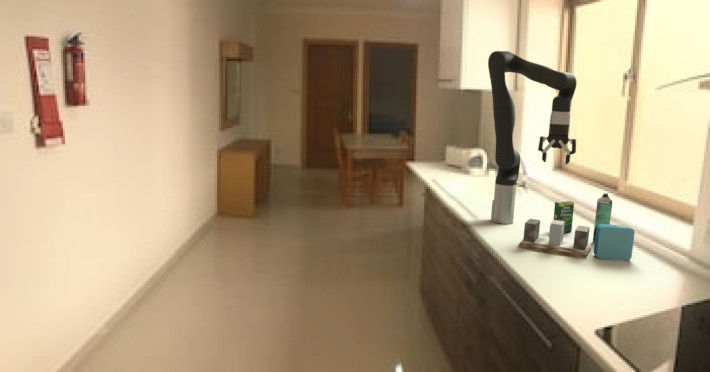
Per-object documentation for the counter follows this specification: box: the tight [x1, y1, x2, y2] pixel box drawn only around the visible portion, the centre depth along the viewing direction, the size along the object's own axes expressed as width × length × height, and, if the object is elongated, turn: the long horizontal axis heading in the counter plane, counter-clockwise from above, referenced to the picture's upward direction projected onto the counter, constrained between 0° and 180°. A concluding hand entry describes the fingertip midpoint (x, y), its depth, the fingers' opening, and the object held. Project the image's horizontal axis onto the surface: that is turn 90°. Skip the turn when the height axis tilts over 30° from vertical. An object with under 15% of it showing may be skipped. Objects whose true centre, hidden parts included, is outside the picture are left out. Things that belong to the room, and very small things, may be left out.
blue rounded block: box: [593, 224, 636, 262], centre depth 210 cm, size 12×4×12 cm, turn 83°
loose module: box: [548, 219, 565, 246], centre depth 219 cm, size 4×7×8 cm, turn 152°
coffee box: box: [553, 200, 575, 233], centre depth 246 cm, size 8×3×13 cm, turn 107°
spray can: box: [592, 192, 613, 244], centre depth 231 cm, size 6×6×20 cm
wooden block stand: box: [518, 218, 592, 260], centre depth 220 cm, size 24×14×9 cm, turn 62°
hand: (555, 163), depth 236 cm, fingers open, 8 cm apart
